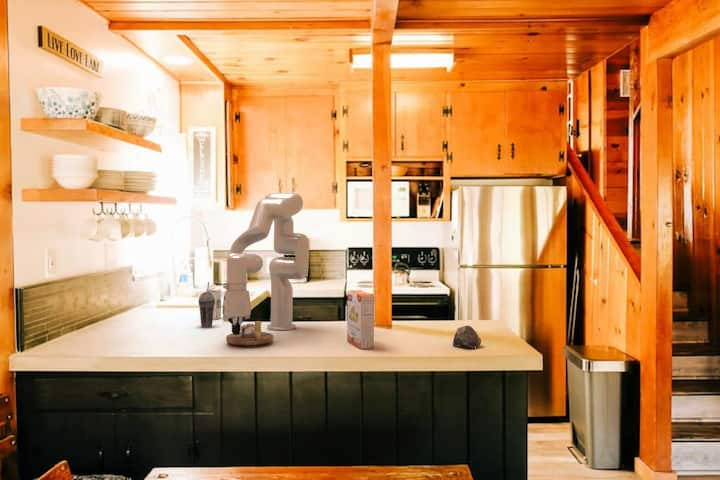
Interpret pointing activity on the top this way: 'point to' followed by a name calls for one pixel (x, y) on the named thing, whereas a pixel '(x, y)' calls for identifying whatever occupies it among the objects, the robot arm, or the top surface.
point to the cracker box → (360, 319)
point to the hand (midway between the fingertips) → (236, 334)
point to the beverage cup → (206, 308)
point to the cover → (248, 331)
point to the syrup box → (216, 302)
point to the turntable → (259, 338)
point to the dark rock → (466, 337)
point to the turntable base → (250, 345)
